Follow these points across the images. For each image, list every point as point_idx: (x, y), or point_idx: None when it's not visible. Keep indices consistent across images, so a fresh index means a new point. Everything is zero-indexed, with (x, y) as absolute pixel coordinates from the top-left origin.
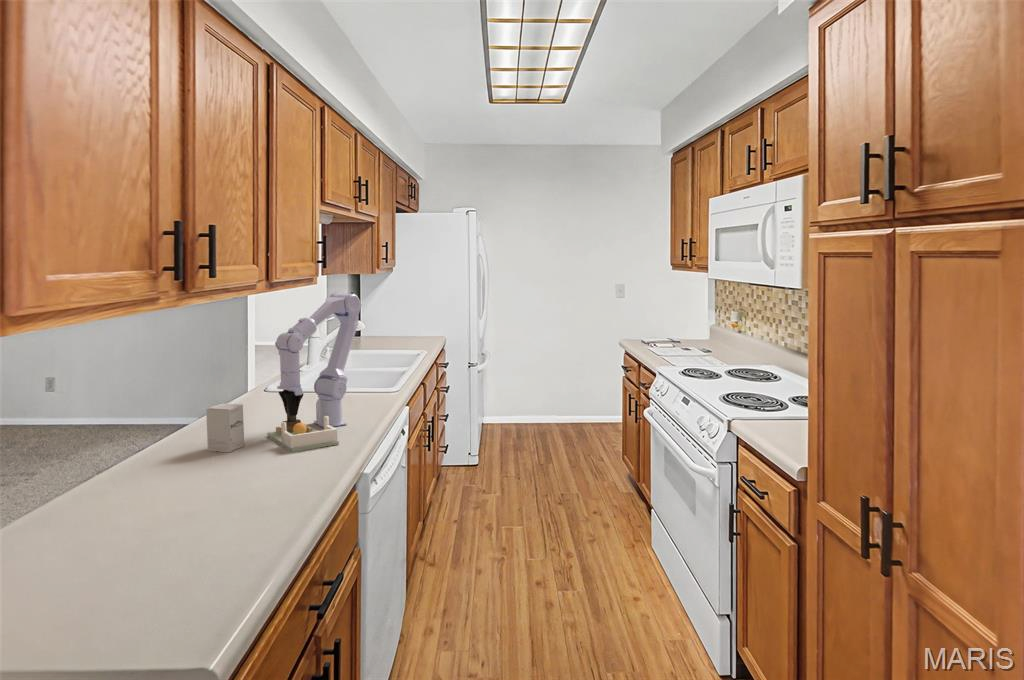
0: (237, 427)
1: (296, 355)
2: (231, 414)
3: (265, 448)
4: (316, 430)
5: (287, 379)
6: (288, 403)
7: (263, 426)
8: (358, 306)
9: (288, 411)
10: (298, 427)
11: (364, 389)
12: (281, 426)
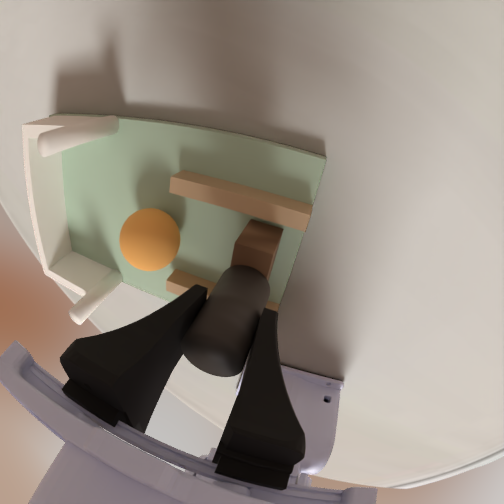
0: None
1: None
2: None
3: (137, 51)
4: None
5: (36, 496)
6: (133, 324)
7: (480, 267)
8: None
9: (211, 305)
10: (122, 228)
11: (425, 483)
12: (57, 128)
